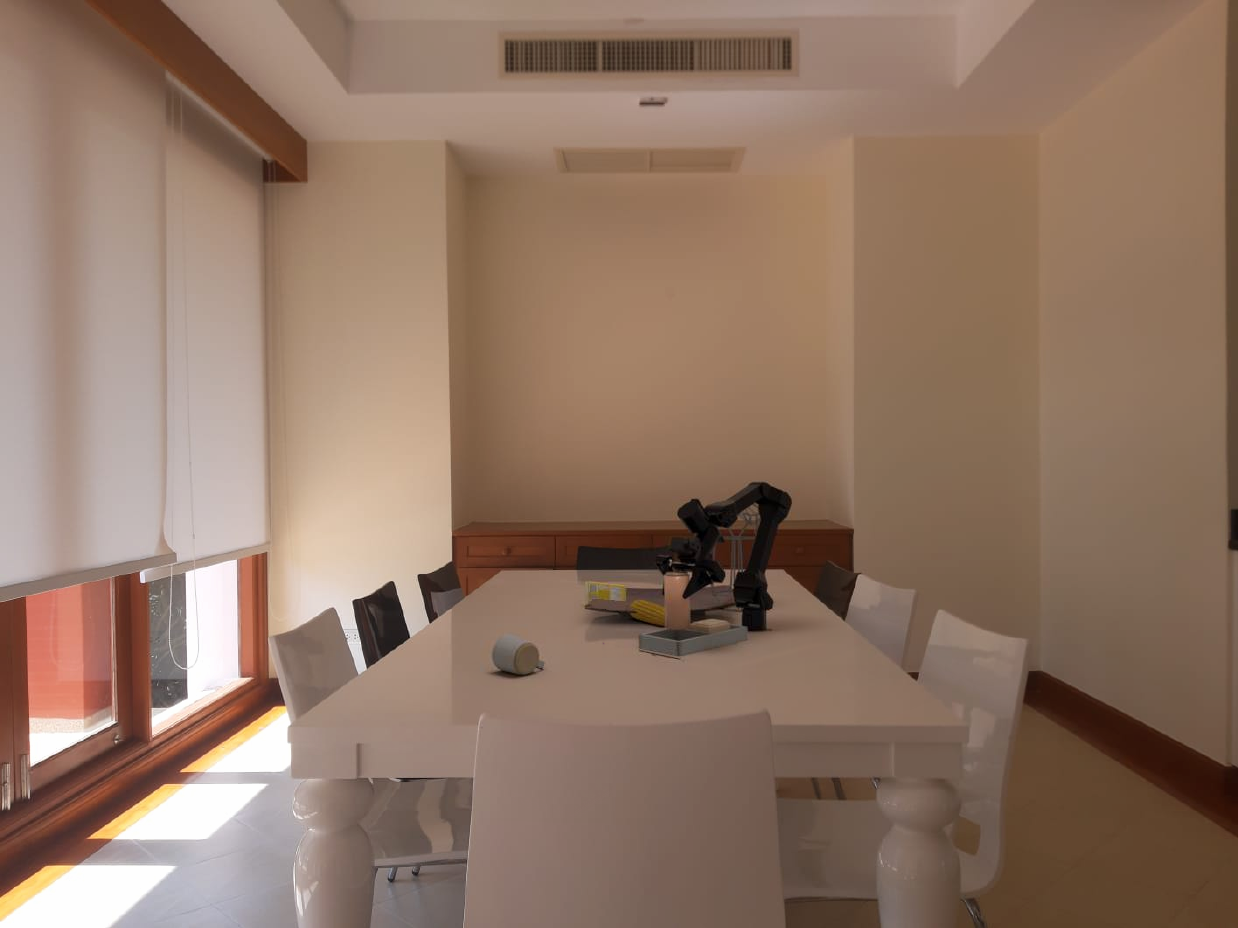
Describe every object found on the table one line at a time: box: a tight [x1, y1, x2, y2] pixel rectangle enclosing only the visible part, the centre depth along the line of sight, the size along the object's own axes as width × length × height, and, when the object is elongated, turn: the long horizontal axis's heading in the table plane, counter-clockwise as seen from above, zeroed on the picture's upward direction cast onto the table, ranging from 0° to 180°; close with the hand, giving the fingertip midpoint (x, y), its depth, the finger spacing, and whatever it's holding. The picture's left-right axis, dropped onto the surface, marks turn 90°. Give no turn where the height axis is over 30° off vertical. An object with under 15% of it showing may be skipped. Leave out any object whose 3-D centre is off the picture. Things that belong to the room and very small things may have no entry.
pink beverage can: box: [663, 571, 691, 630], centre depth 205 cm, size 6×6×13 cm
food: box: [629, 599, 665, 627], centre depth 241 cm, size 21×6×6 cm, turn 33°
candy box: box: [584, 580, 627, 606], centre depth 265 cm, size 16×2×8 cm, turn 46°
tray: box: [638, 622, 749, 661], centre depth 209 cm, size 25×13×4 cm, turn 134°
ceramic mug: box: [491, 634, 546, 676], centre depth 187 cm, size 11×8×8 cm
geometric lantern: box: [710, 497, 761, 612], centre depth 265 cm, size 16×16×35 cm
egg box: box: [690, 618, 731, 633], centre depth 213 cm, size 8×6×4 cm
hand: (673, 596), depth 204 cm, fingers closed on pink beverage can, 6 cm apart
